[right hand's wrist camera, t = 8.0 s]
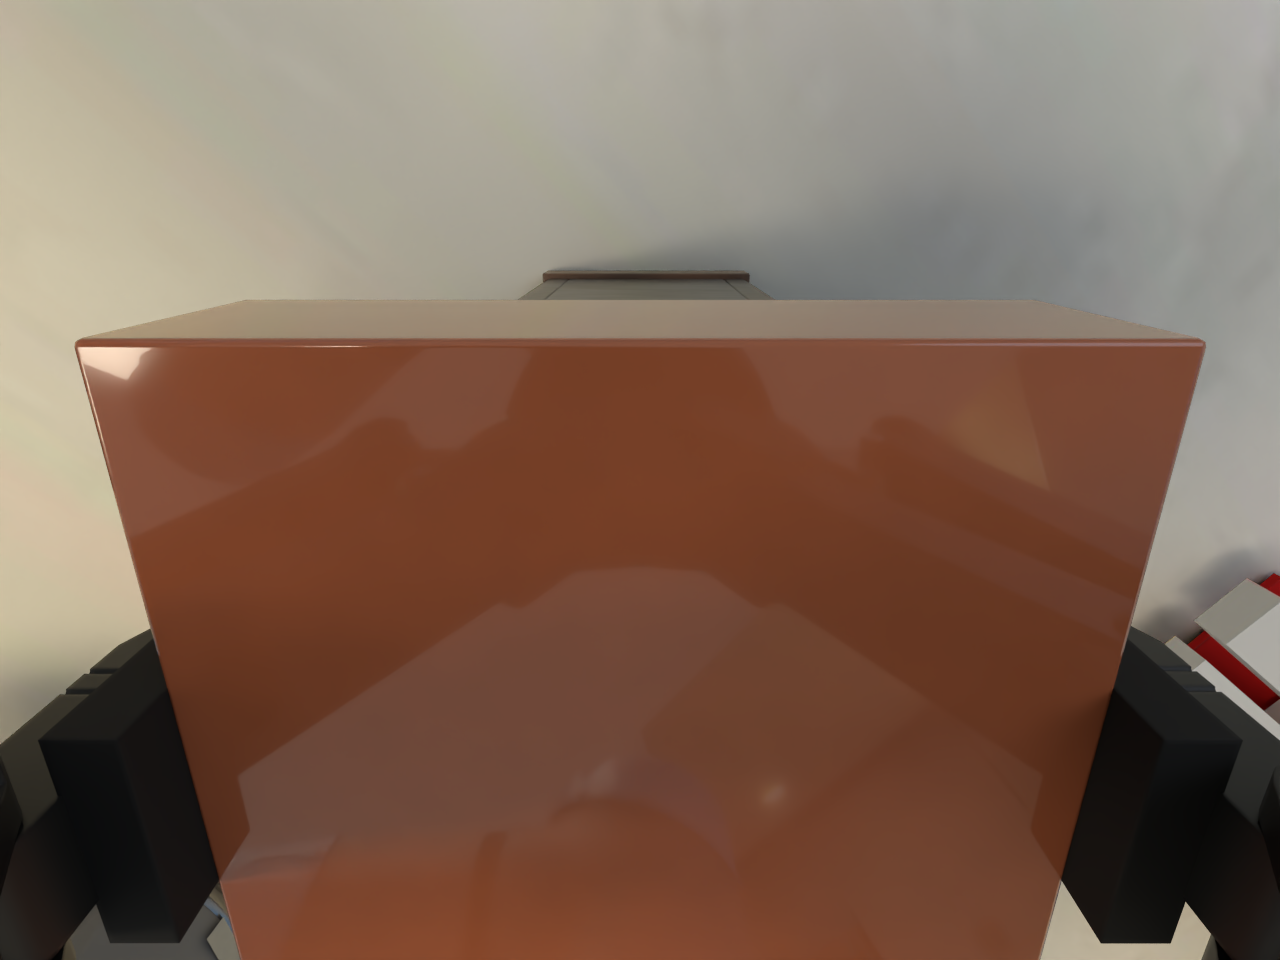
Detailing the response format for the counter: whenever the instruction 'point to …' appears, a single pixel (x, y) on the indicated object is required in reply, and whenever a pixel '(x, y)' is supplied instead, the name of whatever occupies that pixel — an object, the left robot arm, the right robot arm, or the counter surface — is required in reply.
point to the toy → (1241, 649)
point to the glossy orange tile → (640, 613)
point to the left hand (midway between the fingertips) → (644, 764)
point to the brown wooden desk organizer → (646, 286)
